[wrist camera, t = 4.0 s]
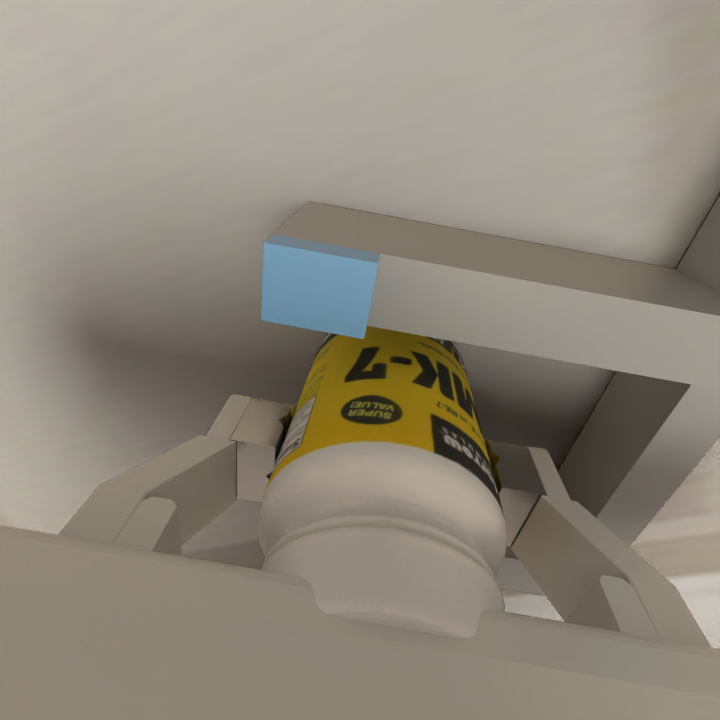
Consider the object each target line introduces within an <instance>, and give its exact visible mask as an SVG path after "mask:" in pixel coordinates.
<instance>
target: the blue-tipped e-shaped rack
mask: <svg viewBox="0 0 720 720" xmlns="http://www.w3.org/2000/svg"><path fill="white" fill-rule="evenodd" d="M261 321H266V322H272V323H277V324H283V325H288V326H294V327H299V328H305V329H311V330H316V331H322V332H327V333H333V334H338V335H344V336H349V337H355V338H360V339H364V337H365V332H366V326H371V327H377V328H383V329H388V330H394V331H399V332H405V333H410V334H416V335H421V336H427V337H432V338H438V339H443V340H449V341H454V342H460V343H465V344H471V345H476V346H482V347H487V348H493V349H498V350H504V351H509V352H515V353H520V354H526V355H531V356H537V357H543V358H548V359H554V360H559V361H565V362H570V363H576V364H581V365H587V366H592V367H598V368H603V369H609V370H614V371H616V373H615V375H614V376H613V378H612V380H611V382H610V383H609V385H608V387H607V388H606V390H605V392H604V394H603V395H602V397H601V399H600V400H599V402H598V404H597V406H596V407H595V409H594V411H593V412H592V414H591V416H590V417H589V419H588V421H587V423H586V424H585V426H584V428H583V429H582V431H581V433H580V435H579V436H578V438H577V440H576V441H575V443H574V445H573V447H572V448H571V450H570V452H569V453H568V455H567V457H566V459H565V460H564V462H563V464H562V465H561V467H560V469H559V471H558V474H559V476H560V478H561V480H562V482H563V485H564V487H565V489H566V491H567V493H568V495H569V497H570V500H571V501H576V502H578V503H579V504H580V505H582V506H583V507H584V508H585V509H586V510H587V511H589V512H590V513H591V514H592V515H593V516H594V517H595V518H597V519H598V520H599V521H600V522H601V523H602V524H604V525H605V526H606V527H607V528H608V529H609V530H611V531H612V532H613V533H614V534H615V535H616V536H617V537H619V538H620V539H621V540H622V541H623V542H624V543H626V544H627V545H628V546H630V545H631V544H632V543H633V541H634V540H635V539H636V538H637V537H638V535H639V534H640V533H641V532H642V531H643V529H644V528H645V527H646V526H647V524H648V523H649V522H650V521H651V520H652V518H653V517H654V516H655V515H656V514H657V512H658V511H659V510H660V509H661V508H662V506H663V505H664V504H665V503H666V502H667V500H668V499H669V498H670V497H671V495H672V494H673V493H674V492H675V491H676V489H677V488H678V487H679V486H680V485H681V483H682V482H683V481H684V480H685V479H686V477H687V476H688V475H689V474H690V472H691V471H692V470H693V469H694V468H695V466H696V465H697V464H698V463H699V462H700V460H701V459H702V458H703V457H704V456H705V454H706V453H707V452H708V451H709V449H710V448H711V447H712V446H713V445H714V443H715V442H716V441H717V440H718V439H719V437H720V195H719V197H718V199H717V200H716V202H715V204H714V205H713V207H712V209H711V211H710V212H709V214H708V216H707V217H706V219H705V221H704V223H703V224H702V226H701V228H700V229H699V231H698V233H697V235H696V236H695V238H694V240H693V241H692V243H691V245H690V246H689V248H688V250H687V252H686V253H685V255H684V257H683V258H682V260H681V262H680V264H679V265H678V267H677V269H672V268H666V267H661V266H655V265H650V264H645V263H639V262H634V261H628V260H623V259H618V258H612V257H607V256H601V255H596V254H591V253H585V252H580V251H574V250H569V249H563V248H558V247H553V246H547V245H542V244H536V243H531V242H526V241H520V240H515V239H509V238H504V237H499V236H493V235H488V234H482V233H477V232H472V231H466V230H461V229H455V228H450V227H445V226H439V225H434V224H428V223H423V222H418V221H412V220H407V219H401V218H396V217H391V216H385V215H380V214H374V213H369V212H364V211H358V210H353V209H347V208H342V207H336V206H331V205H326V204H320V203H315V202H308V203H306V204H305V205H304V206H303V207H302V208H301V209H300V210H299V211H298V212H297V213H296V214H294V215H293V216H292V217H291V218H290V219H289V220H288V221H287V222H286V223H285V224H283V225H282V226H281V227H280V228H279V229H278V230H277V231H276V232H275V233H274V234H272V235H271V236H270V237H269V238H268V239H267V240H266V241H265V242H264V250H263V277H262V304H261ZM258 546H259V547H261V543H260V538H259V536H258ZM496 581H497V584H498V587H499V588H501V589H507V590H512V591H518V592H524V593H530V594H535V595H541V596H546V595H545V594H544V593H543V591H542V590H541V589H540V587H539V586H538V585H537V583H536V582H535V581H534V579H533V578H532V576H531V575H530V574H529V572H528V571H527V570H526V568H525V567H524V566H523V564H522V563H521V562H520V560H519V559H518V557H517V556H516V555H515V553H514V552H513V551H512V549H511V547H510V546H506V553H505V558H504V562H503V565H502V567H501V569H500V571H499V573H498V575H497V577H496Z"/></svg>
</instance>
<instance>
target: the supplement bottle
mask: <svg viewBox="0 0 720 720" xmlns="http://www.w3.org/2000/svg"><path fill="white" fill-rule="evenodd" d="M258 532H259V538H260V543H261V547H262V550H263V553H264V556H265V559H264V561H263V563H262V567H261V569H260V570H265V571H271V572H276V573H282V574H288V575H294V576H298V577H301V578H304V579H305V580H307V581H308V582H309V583H310V584H311V585H312V587H313V589H314V595H315V601H316V604H317V605H318V607H319V608H320V609H321V610H322V611H324V612H325V613H327V614H330V615H334V616H339V617H343V618H348V619H354V620H359V621H365V622H370V623H376V624H382V625H387V626H393V627H398V628H404V629H409V630H415V631H420V632H426V633H432V634H438V635H444V636H449V637H454V638H470V637H472V636H473V635H475V633H476V630H477V627H478V619H479V616H480V614H481V612H483V611H485V610H487V609H491V610H496V611H502V612H505V605H504V600H503V596H502V594H501V591H500V589H499V587H498V584H497V581H496V577H497V575H498V573H499V571H500V569H501V567H502V565H503V562H504V558H505V553H506V544H507V535H506V524H505V518H504V514H503V510H502V505H501V501H500V496H499V493H498V490H497V487H496V483H495V479H494V476H493V472H492V468H491V464H490V460H489V457H488V453H487V449H486V445H485V441H484V437H483V433H482V430H481V427H480V423H479V419H478V415H477V411H476V407H475V403H474V400H473V396H472V392H471V388H470V385H469V381H468V376H467V372H466V369H465V366H464V363H463V360H462V357H461V354H460V352H459V350H458V348H457V346H456V345H455V343H454V342H453V341H449V340H443V339H438V338H432V337H427V336H421V335H416V334H410V333H405V332H399V331H394V330H388V329H383V328H377V327H371V326H366V332H365V337H364V339H360V338H355V337H349V336H344V335H338V334H333V333H329V335H328V336H327V337H326V338H325V339H324V341H323V342H322V344H321V346H320V347H319V349H318V351H317V353H316V356H315V358H314V361H313V364H312V367H311V369H310V372H309V375H308V377H307V380H306V382H305V385H304V388H303V391H302V393H301V396H300V399H299V401H298V404H297V407H296V409H295V412H294V415H293V417H292V420H291V423H290V425H289V428H288V431H287V434H286V437H285V439H284V442H283V444H282V447H281V449H280V452H279V455H278V458H277V460H276V463H275V466H274V469H273V472H272V474H271V477H270V480H269V482H268V484H267V487H266V490H265V493H264V496H263V500H262V504H261V509H260V513H259V530H258Z"/></svg>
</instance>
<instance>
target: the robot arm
mask: <svg viewBox="0 0 720 720" xmlns="http://www.w3.org/2000/svg"><path fill="white" fill-rule="evenodd" d="M292 417H293V405H290V404H285V403H280V402H275V401H270V400H265V399H260V398H255V397H254V398H252V397H249V396H243V395H238V394H233V395H231V396H230V397H229V399H228V400H227V402H226V403H225V405H224V407H223V408H222V410H221V412H220V413H219V415H218V416H217V418H216V420H215V421H214V423H213V425H212V426H211V428H210V429H209V431H208V433H207V434H206V436H202V435H198V436H196V437H194V438H192V439H190V440H188V441H186V442H184V443H182V444H180V445H178V446H176V447H174V448H172V449H170V450H168V451H166V452H164V453H162V454H160V455H158V456H156V457H154V458H152V459H150V460H148V461H146V462H144V463H142V464H140V465H138V466H136V467H134V468H132V469H130V470H128V471H126V472H124V473H122V474H120V475H118V476H116V477H114V478H112V479H110V480H108V481H106V482H104V483H103V484H101V485H99V486H98V487H97V488H96V490H95V491H94V492H93V493H92V494H91V496H90V497H89V498H88V499H87V501H86V502H85V503H84V504H83V505H82V507H81V508H80V509H79V510H78V511H77V513H76V514H75V515H74V516H73V517H72V519H71V520H70V521H69V522H68V524H67V525H66V526H65V527H64V528H63V530H62V531H61V532H60V533H59V534H58V535H56V534H50V533H45V532H39V531H33V530H27V529H21V528H16V527H10V526H4V525H0V720H720V649H717V648H711V646H710V644H709V643H708V641H707V639H706V638H705V636H704V634H703V633H702V631H701V629H700V628H699V626H698V624H697V622H696V621H695V619H694V617H693V616H692V614H691V612H690V611H689V609H688V607H687V606H686V604H685V602H684V601H683V599H682V597H681V596H680V594H679V592H678V591H677V589H676V587H675V586H674V585H673V584H672V583H671V582H669V581H668V580H667V579H666V578H665V577H664V576H663V575H661V574H660V573H659V572H658V571H657V570H656V569H654V568H653V567H652V566H651V565H650V564H649V563H648V562H646V561H645V560H644V559H643V558H642V557H641V556H639V555H638V554H637V553H636V552H635V551H634V550H632V549H631V548H630V547H629V546H628V545H627V544H626V543H624V542H623V541H622V540H621V539H620V538H619V537H617V536H616V535H615V534H614V533H613V532H612V531H611V530H609V529H608V528H607V527H606V526H605V525H604V524H602V523H601V522H600V521H599V520H598V519H597V518H595V517H594V516H593V515H592V514H591V513H590V512H589V511H587V510H586V509H585V508H584V507H583V506H582V505H580V504H579V503H578V502H576V501H571V500H570V497H569V495H568V493H567V491H566V489H565V487H564V485H563V482H562V480H561V478H560V476H559V474H558V472H557V469H556V467H555V465H554V463H553V461H552V459H551V457H550V454H549V452H548V451H547V450H545V449H542V448H536V447H529V446H520V445H514V444H508V443H502V442H497V441H491V440H484V441H485V445H486V449H487V453H488V457H489V460H490V464H491V468H492V472H493V476H494V479H495V483H496V487H497V490H498V493H499V496H500V501H501V505H502V510H503V514H504V518H505V524H506V535H507V544H506V546H510V547H511V549H512V551H513V552H514V553H515V555H516V556H517V557H518V559H519V560H520V562H521V563H522V564H523V566H524V567H525V568H526V570H527V571H528V572H529V574H530V575H531V576H532V578H533V579H534V581H535V582H536V583H537V585H538V586H539V587H540V589H541V590H542V591H543V593H544V594H545V595H546V597H547V598H548V600H549V601H550V602H551V604H552V605H553V606H554V608H555V609H556V610H557V612H558V613H559V615H560V616H561V617H562V619H563V620H564V621H565V622H560V621H555V620H549V619H543V618H537V617H531V616H526V615H520V614H514V613H508V612H502V611H496V610H491V609H487V610H485V611H483V612H481V614H480V616H479V619H478V627H477V630H476V633H475V635H473V636H472V637H470V638H454V637H449V636H444V635H438V634H432V633H426V632H420V631H415V630H409V629H404V628H398V627H393V626H387V625H382V624H376V623H370V622H365V621H359V620H354V619H348V618H343V617H339V616H334V615H330V614H327V613H325V612H324V611H322V610H321V609H320V608H319V607H318V605H317V604H316V601H315V595H314V589H313V587H312V585H311V584H310V583H309V582H308V581H307V580H305V579H304V578H301V577H298V576H294V575H288V574H282V573H276V572H271V571H265V570H259V569H253V568H247V567H242V566H236V565H230V564H224V563H218V562H213V561H207V560H201V559H195V558H189V557H184V556H182V551H181V546H182V545H183V544H184V543H186V542H187V541H188V540H189V539H190V538H192V537H193V536H194V535H195V534H196V533H198V532H199V531H200V530H201V529H202V528H204V527H205V526H206V525H207V524H208V523H210V522H211V521H212V520H213V519H214V518H216V517H217V516H218V515H219V514H220V513H222V512H223V511H224V510H225V509H226V508H228V507H229V506H230V505H231V504H233V503H234V502H235V501H236V499H241V500H248V501H255V502H262V500H263V496H264V493H265V490H266V487H267V484H268V482H269V480H270V477H271V474H272V472H273V469H274V466H275V463H276V460H277V458H278V455H279V452H280V449H281V447H282V444H283V442H284V439H285V437H286V434H287V431H288V428H289V425H290V423H291V420H292Z"/></svg>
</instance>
